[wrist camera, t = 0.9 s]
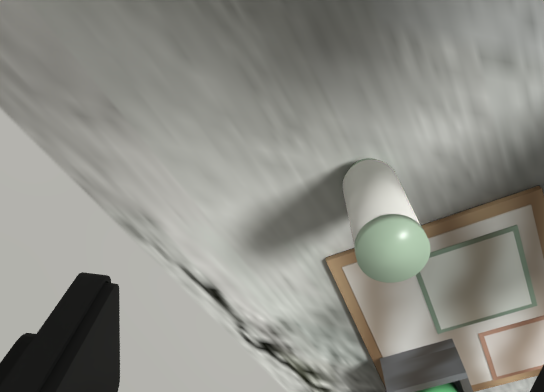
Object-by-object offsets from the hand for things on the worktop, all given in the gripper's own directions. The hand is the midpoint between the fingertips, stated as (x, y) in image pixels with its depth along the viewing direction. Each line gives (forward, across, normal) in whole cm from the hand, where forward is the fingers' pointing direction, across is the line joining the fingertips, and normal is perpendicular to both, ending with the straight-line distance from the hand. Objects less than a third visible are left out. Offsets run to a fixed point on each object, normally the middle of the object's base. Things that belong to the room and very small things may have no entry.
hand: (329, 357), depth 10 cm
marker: (+25, -6, +5) cm, 26 cm away
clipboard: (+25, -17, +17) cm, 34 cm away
